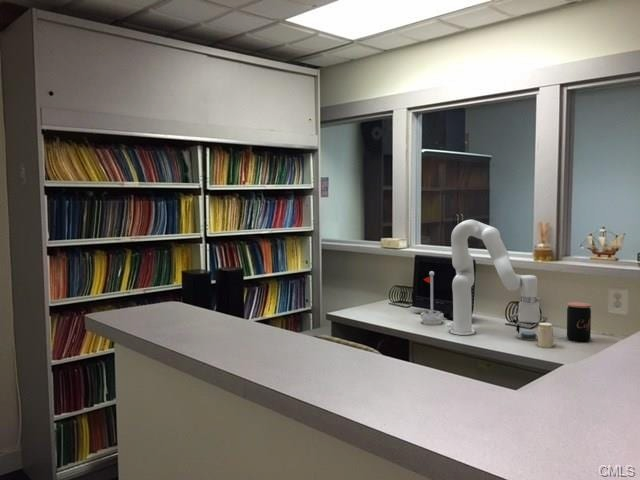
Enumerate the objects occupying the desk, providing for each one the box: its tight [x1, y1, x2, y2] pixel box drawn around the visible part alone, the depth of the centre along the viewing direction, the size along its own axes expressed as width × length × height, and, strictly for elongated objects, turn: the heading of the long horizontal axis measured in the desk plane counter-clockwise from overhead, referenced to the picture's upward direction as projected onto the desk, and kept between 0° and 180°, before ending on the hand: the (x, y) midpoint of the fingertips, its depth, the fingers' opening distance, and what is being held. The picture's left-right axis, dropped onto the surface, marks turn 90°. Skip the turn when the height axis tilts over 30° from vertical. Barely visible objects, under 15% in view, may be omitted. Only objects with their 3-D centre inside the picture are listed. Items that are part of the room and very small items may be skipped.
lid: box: [520, 331, 537, 338], centre depth 272 cm, size 7×7×2 cm
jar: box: [537, 322, 554, 348], centre depth 257 cm, size 7×7×11 cm
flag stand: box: [420, 270, 445, 326], centre depth 309 cm, size 13×13×30 cm
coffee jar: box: [566, 301, 592, 343], centre depth 266 cm, size 11×11×18 cm
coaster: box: [516, 334, 538, 342], centre depth 272 cm, size 11×11×1 cm
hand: (528, 333), depth 272 cm, fingers open, 9 cm apart
